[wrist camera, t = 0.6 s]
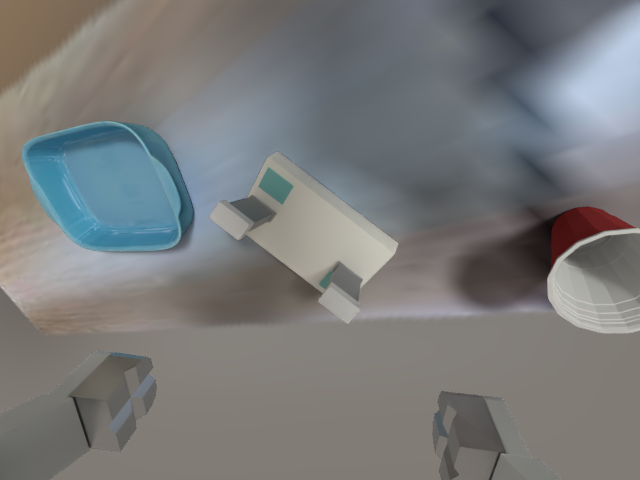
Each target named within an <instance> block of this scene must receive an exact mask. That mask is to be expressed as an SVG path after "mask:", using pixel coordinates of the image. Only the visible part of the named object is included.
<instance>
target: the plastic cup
mask: <svg viewBox="0 0 640 480" xmlns="http://www.w3.org/2000/svg"><path fill="white" fill-rule="evenodd" d="M551 261H552V263H551V271H550V273H549V275H548V277H547V283H548V299H549V300H550V302H551V303H552V305H553V307H554V308H555V310H556V311H557V313H558V314H559V315H560V316H562V317H563V318H565V319H566V320H568V321H569V322H571V323H572V324H574V325H575V326H577V327H580V328H584V329H588V330H592V331H596V332H599V333H632V332H636V331H639V330H640V229H637V228H635V227H633V226H631V225H629V224H628V223H626V222H624V221H622V220H620V219H619V218H617V217H615V216H612V215H610V214H608V213H607V212H605V211H603V210H601V209H597V208H592V207H578V208H574V209H571V210H569V211H567V212H564V213H563V214H562V215H561V216H560V217H559V218H557V219H556V221H555V223H554V225H553V227H552V239H551Z"/></svg>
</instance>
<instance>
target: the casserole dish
mask: <svg viewBox="0 0 640 480" xmlns="http://www.w3.org/2000/svg"><path fill="white" fill-rule="evenodd" d="M22 160H23V163H24V166H25V168H26V171H27V173H28V175H29V178H30V183H31V187H32V190H33V192H34V194H35V196H36V198H37V199H38V201H39V203H40V204H41V206H42V208H43V209H44V211H45V212H46V213H47V215H48V216H49V217H50V218H51V219H52V220H53V221H54V222H55V223H56V224H57V225H59V227H60V228H61V229H62V230H63V232H64V233H65V234H66V235H67V236H68V237H69V238H70V239H71V240H72V241H73V242H74V243H76V244H77V245H79V246H81V247H83V248H86V249H89V250H94V251H157V250H165V249H169V248H172V247H174V246H175V245H177V244H178V243H179V241H180V240H181V238H182V236H183V235H184V234H185V232H186V231H187V229H188V228H189V226H190V224H191V222H192V218H193V208H192V204H191V200H190V198H189V195H188V192H187V190H186V187H185V184H184V182H183V179H182V177H181V174H180V172H179V169H178V167H177V164H176V162H175V159H174V157H173V155H172V153H171V151H170V149H169V147H168V146H167V144H166V142H165V141H164V140H163V139H162V138H161V137H160V136H159V135H158V134H157V133H156V132H154V131H153V130H151V129H149V128H147V127H144V126H141V125H136V124H130V123H121V122H114V121H100V122H94V123H89V124H84V125H80V126H77V127H73V128H69V129H65V130H61V131H57V132H53V133H49V134H46V135H42V136H39V137H36V138H33V139H31V140H29V141H28V142H27V143H25V145H24V146H23V149H22Z"/></svg>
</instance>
